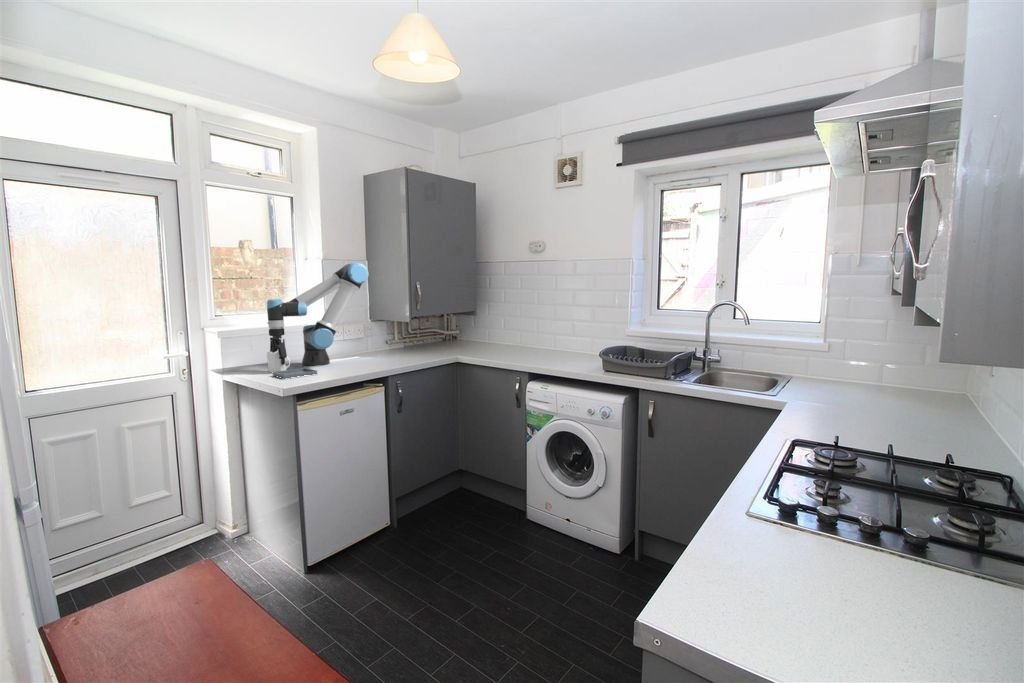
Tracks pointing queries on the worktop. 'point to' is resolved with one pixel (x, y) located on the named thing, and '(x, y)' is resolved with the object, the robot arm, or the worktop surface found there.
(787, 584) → the worktop surface
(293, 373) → the holder tray
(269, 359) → the mug
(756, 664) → the worktop surface
